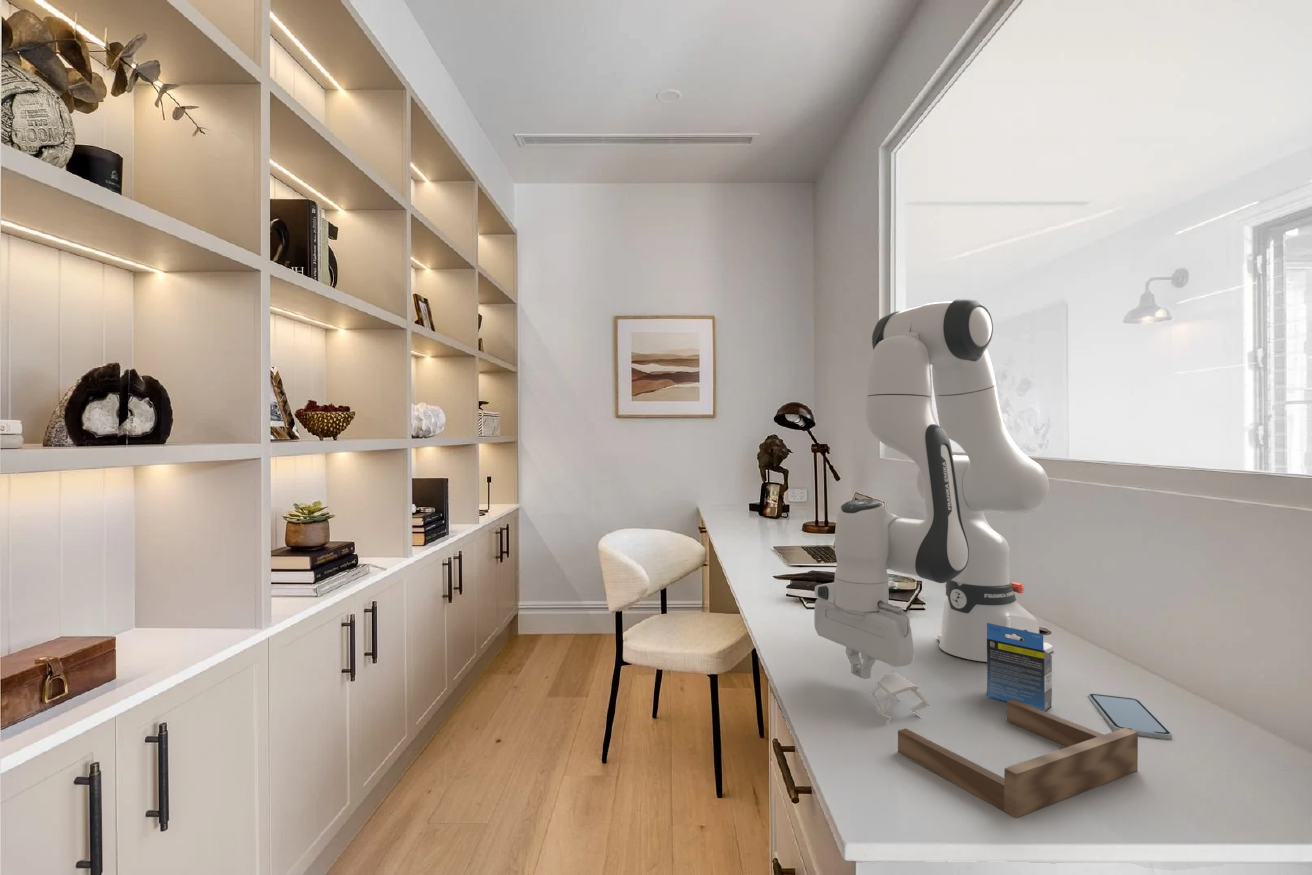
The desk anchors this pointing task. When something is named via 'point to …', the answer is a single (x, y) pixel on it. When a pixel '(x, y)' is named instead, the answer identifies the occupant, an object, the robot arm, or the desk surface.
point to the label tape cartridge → (1018, 667)
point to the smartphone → (1129, 715)
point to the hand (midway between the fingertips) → (860, 676)
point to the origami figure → (897, 691)
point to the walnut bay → (1034, 762)
